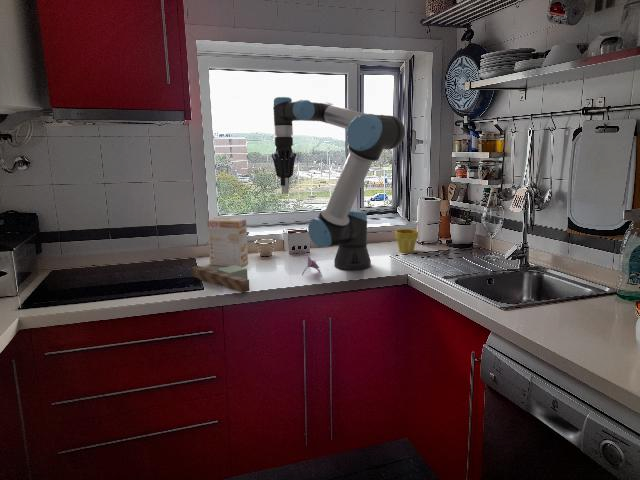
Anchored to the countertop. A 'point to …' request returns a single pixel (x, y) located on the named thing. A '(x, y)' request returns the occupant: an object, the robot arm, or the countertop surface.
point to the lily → (312, 264)
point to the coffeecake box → (227, 241)
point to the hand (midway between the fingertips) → (285, 193)
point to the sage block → (235, 271)
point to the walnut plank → (221, 278)
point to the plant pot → (406, 239)
